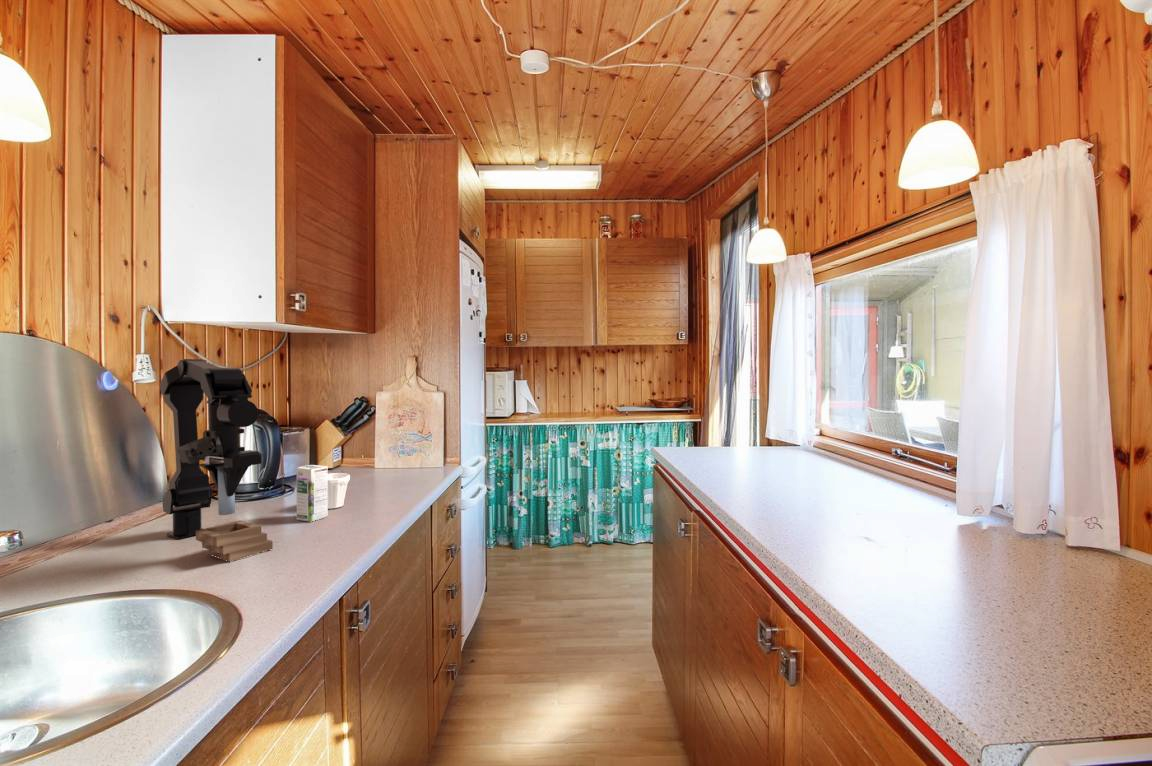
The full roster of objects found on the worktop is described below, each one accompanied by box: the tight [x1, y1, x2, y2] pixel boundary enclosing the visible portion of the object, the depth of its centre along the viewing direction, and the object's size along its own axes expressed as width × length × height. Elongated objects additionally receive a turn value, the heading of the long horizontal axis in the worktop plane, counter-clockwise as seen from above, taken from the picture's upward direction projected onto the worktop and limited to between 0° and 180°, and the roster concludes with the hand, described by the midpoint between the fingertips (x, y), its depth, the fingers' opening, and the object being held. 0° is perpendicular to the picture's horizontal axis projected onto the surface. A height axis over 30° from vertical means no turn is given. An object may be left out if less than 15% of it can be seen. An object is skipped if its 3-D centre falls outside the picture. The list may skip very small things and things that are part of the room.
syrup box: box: [296, 464, 329, 523], centre depth 141 cm, size 6×6×14 cm
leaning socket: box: [195, 520, 274, 562], centre depth 114 cm, size 9×11×6 cm
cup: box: [328, 472, 351, 510], centre depth 153 cm, size 10×10×9 cm
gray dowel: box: [217, 470, 236, 516], centre depth 113 cm, size 3×3×10 cm
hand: (225, 495), depth 113 cm, fingers closed on gray dowel, 3 cm apart
